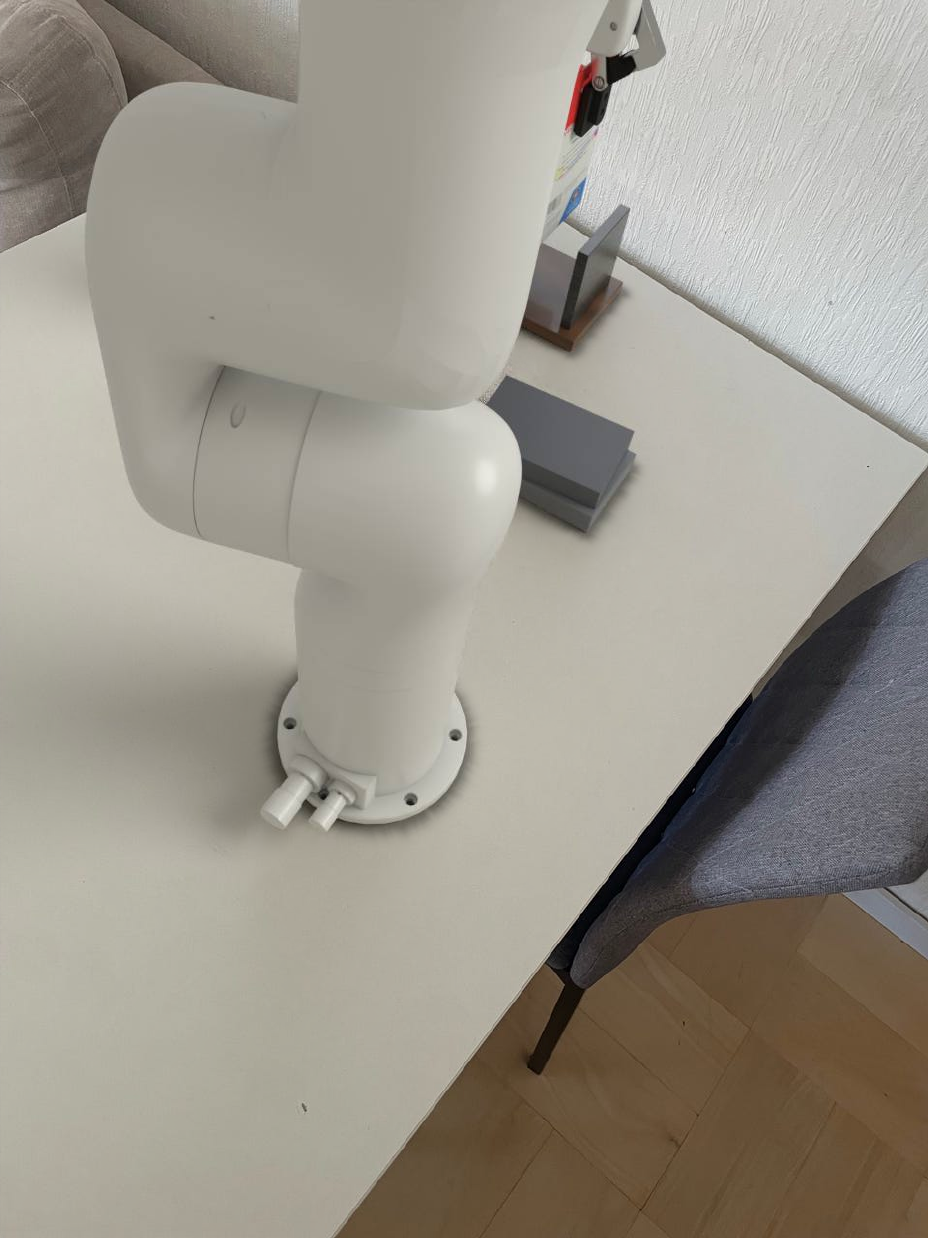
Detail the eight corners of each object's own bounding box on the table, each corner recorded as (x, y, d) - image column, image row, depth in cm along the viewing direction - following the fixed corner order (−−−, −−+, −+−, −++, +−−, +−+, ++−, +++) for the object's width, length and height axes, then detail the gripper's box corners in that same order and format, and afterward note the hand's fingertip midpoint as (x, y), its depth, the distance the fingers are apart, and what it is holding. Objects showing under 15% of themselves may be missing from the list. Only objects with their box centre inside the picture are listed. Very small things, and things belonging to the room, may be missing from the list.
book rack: (570, 352, 91) (599, 247, 81) (356, 243, 95) (359, 131, 86) (620, 291, 96) (652, 186, 86) (414, 191, 100) (423, 80, 91)
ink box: (534, 181, 91) (566, 14, 79) (581, 205, 90) (622, 38, 78) (484, 229, 87) (511, 59, 75) (534, 254, 86) (569, 86, 74)
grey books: (585, 534, 80) (596, 503, 77) (453, 462, 82) (459, 429, 79) (631, 468, 84) (644, 435, 81) (505, 401, 87) (512, 367, 83)
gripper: (464, -182, 65) (438, 92, 80) (703, -86, 62) (628, 180, 77) (521, -216, 69) (486, 52, 84) (749, -127, 65) (670, 135, 81)
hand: (555, 111), depth 80 cm, fingers closed on ink box, 5 cm apart
